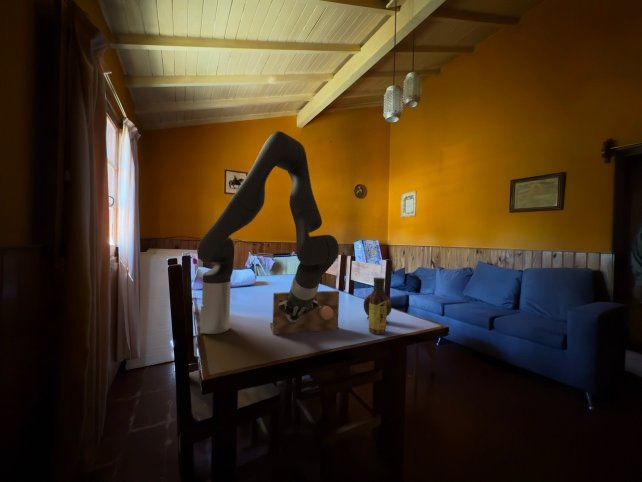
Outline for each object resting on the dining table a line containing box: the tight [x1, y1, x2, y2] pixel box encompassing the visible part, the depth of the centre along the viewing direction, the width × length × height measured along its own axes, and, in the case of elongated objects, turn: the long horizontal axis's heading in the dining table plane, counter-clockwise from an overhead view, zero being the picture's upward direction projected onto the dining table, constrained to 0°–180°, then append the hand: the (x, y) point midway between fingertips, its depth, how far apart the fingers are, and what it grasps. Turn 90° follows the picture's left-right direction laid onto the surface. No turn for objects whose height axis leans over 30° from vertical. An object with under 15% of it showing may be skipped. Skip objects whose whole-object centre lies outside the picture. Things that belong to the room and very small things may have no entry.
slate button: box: [286, 314, 300, 322], centre depth 95 cm, size 10×4×4 cm, turn 18°
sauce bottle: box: [368, 277, 387, 335], centre depth 98 cm, size 7×6×20 cm
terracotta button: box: [319, 305, 333, 320], centre depth 99 cm, size 10×4×4 cm, turn 18°
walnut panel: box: [269, 290, 340, 335], centre depth 100 cm, size 24×8×14 cm, turn 108°
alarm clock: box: [363, 293, 393, 324], centre depth 111 cm, size 11×5×16 cm, turn 58°
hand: (293, 317), depth 90 cm, fingers closed
